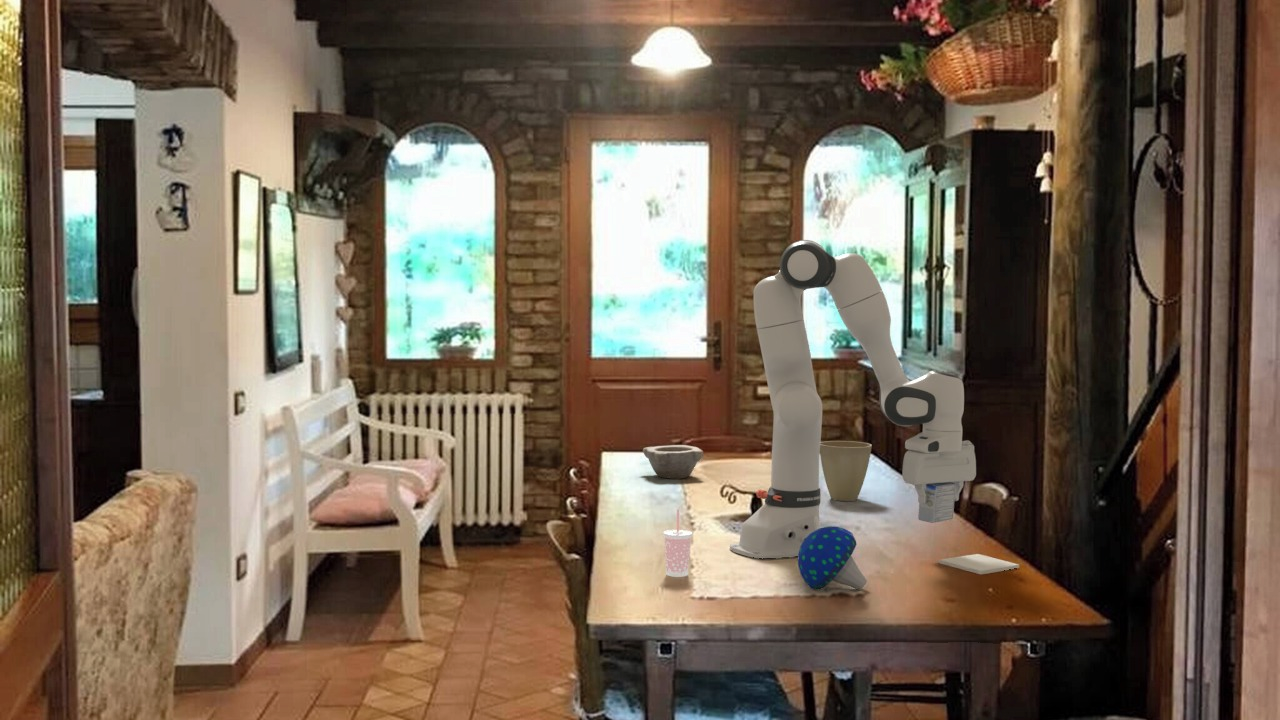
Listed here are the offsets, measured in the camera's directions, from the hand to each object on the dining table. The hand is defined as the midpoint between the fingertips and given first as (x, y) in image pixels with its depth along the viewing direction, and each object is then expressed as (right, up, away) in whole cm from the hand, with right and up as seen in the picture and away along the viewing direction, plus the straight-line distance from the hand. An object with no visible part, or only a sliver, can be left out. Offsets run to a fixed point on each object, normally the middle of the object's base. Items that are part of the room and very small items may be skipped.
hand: (938, 501), depth 283 cm
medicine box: (0, -5, +1) cm, 5 cm away
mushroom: (-29, -14, -31) cm, 45 cm away
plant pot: (-10, -8, +71) cm, 72 cm away
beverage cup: (-61, -13, -21) cm, 65 cm away
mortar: (-58, -5, +106) cm, 121 cm away
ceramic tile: (+7, -13, -9) cm, 17 cm away
